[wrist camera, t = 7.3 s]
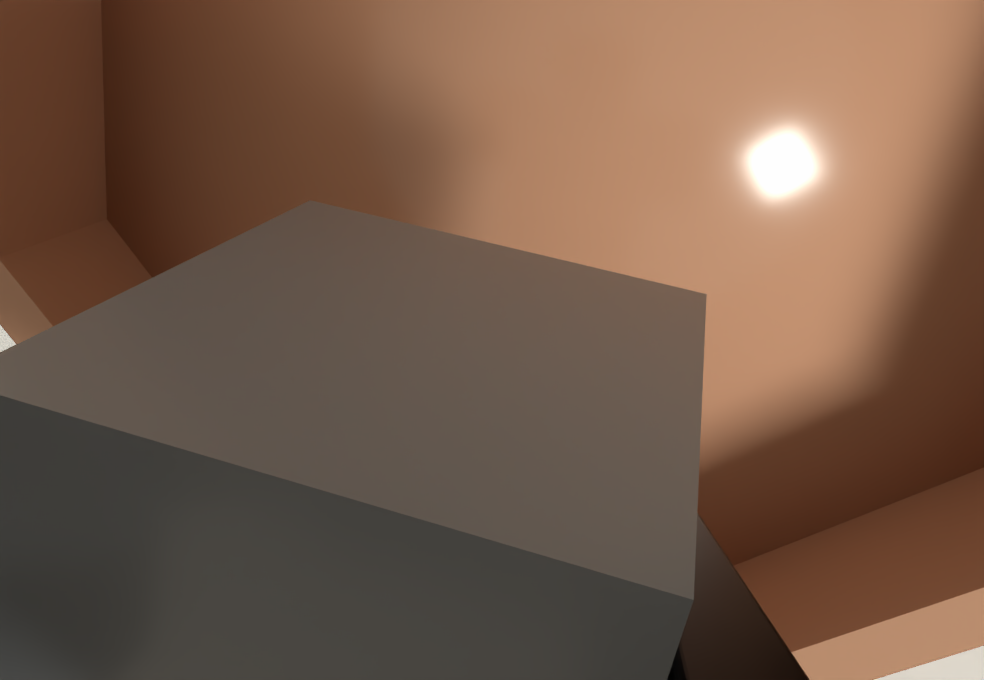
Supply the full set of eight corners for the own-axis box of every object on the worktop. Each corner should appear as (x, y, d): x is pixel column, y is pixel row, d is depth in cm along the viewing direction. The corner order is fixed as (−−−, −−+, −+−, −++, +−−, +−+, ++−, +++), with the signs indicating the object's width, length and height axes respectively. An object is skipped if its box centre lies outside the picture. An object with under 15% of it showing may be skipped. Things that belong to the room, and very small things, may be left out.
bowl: (941, 698, 14) (991, 858, 12) (97, 446, 17) (-19, 529, 14) (1614, -592, 8) (2092, -908, 5) (58, -684, 10) (-175, -922, 8)
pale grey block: (611, 621, 11) (533, 1076, 6) (285, 522, 11) (1, 863, 7) (706, 294, 9) (694, 600, 4) (309, 200, 10) (-55, 380, 5)
